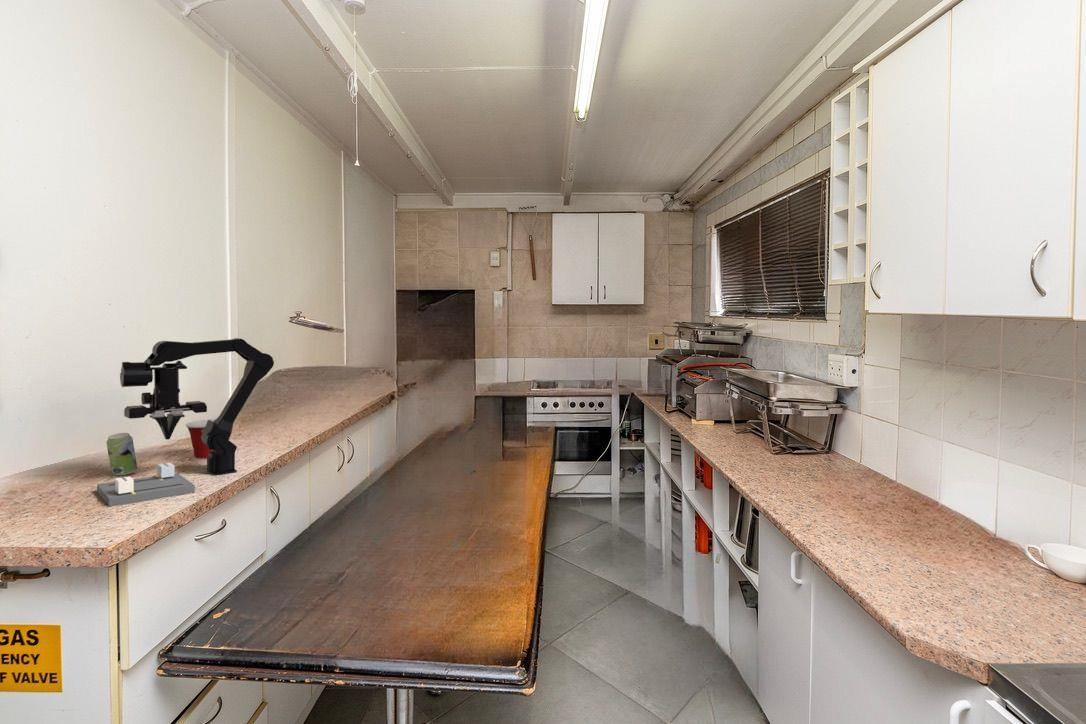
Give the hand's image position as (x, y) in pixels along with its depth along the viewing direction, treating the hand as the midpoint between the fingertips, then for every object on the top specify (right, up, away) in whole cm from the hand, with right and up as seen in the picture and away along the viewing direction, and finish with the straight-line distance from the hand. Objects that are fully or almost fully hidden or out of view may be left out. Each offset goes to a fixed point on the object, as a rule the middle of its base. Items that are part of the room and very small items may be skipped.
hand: (167, 439), depth 154 cm
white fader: (+3, -10, -4) cm, 11 cm away
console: (+3, -12, -12) cm, 17 cm away
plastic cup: (-7, -10, +28) cm, 31 cm away
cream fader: (+3, -10, -19) cm, 22 cm away
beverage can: (-16, -11, +4) cm, 20 cm away
